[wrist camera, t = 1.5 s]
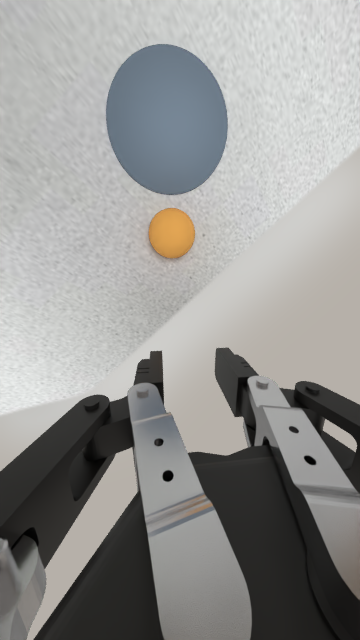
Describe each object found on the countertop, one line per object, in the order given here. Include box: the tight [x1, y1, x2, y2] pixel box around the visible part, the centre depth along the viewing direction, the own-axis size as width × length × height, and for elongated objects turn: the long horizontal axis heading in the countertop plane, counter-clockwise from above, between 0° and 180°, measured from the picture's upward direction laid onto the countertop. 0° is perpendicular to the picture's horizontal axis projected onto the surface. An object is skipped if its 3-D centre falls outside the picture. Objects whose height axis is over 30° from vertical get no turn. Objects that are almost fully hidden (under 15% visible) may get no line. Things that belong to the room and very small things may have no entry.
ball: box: [149, 208, 195, 258], centre depth 24 cm, size 6×6×6 cm
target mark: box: [106, 44, 227, 195], centre depth 23 cm, size 14×14×1 cm
